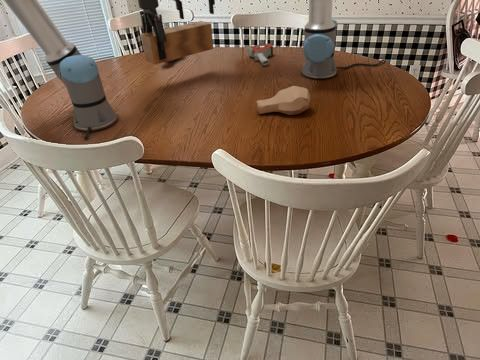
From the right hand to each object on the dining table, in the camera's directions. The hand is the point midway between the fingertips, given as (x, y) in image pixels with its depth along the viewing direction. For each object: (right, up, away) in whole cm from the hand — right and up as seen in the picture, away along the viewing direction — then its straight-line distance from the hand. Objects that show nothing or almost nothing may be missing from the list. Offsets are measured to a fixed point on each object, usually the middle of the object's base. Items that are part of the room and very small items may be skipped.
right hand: (197, 16), depth 148 cm
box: (-8, -14, +7) cm, 17 cm away
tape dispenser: (+29, -6, +35) cm, 46 cm away
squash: (+34, -43, -16) cm, 57 cm away
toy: (-18, -6, +39) cm, 44 cm away
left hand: (-16, -17, 0) cm, 24 cm away
